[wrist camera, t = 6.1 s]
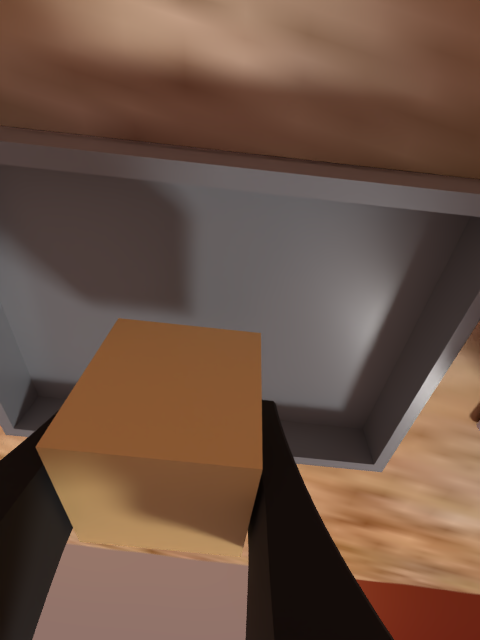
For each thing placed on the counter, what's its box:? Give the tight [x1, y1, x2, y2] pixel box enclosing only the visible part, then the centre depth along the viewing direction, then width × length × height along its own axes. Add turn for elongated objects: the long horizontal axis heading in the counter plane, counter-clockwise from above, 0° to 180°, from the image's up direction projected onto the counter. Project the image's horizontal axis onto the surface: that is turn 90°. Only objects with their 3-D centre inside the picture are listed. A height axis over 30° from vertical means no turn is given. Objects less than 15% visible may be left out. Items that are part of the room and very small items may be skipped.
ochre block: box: [36, 318, 263, 557], centre depth 10 cm, size 5×5×5 cm
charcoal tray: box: [0, 126, 480, 472], centre depth 14 cm, size 20×14×3 cm
